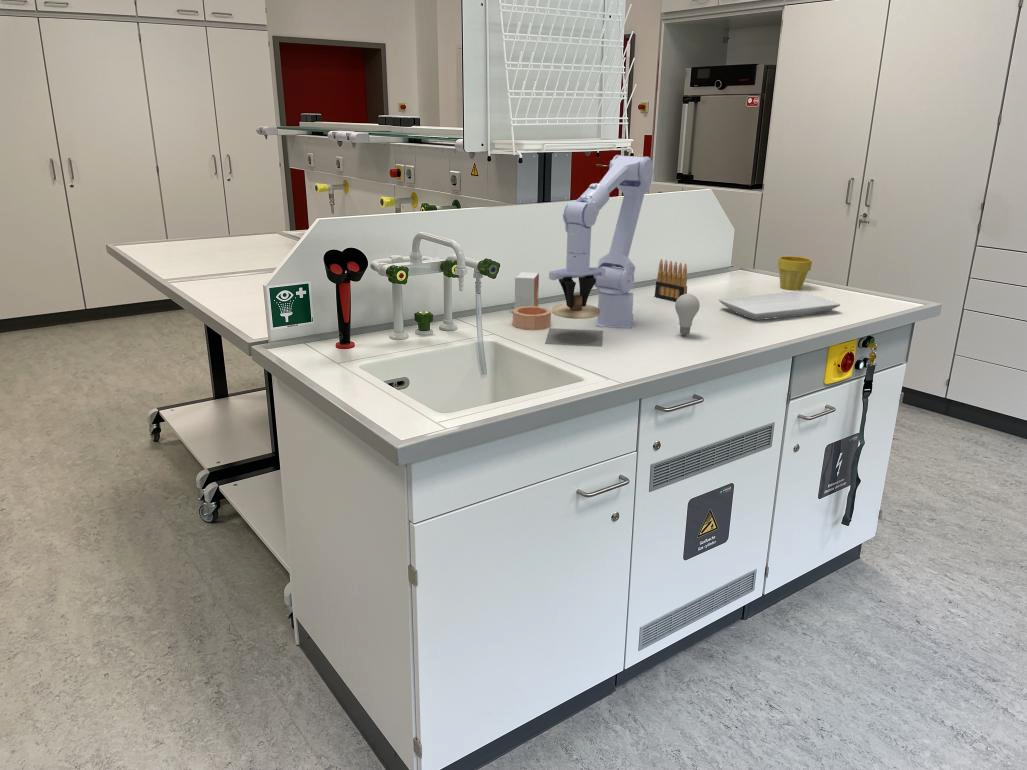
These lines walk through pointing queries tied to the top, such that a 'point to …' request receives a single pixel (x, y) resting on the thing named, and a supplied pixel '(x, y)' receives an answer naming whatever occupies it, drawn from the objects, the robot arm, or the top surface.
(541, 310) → the bowl
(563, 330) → the mat
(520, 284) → the small box
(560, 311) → the lid
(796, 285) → the plant pot
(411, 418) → the top surface
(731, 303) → the tray
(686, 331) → the lightbulb
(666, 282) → the ammunition clip
